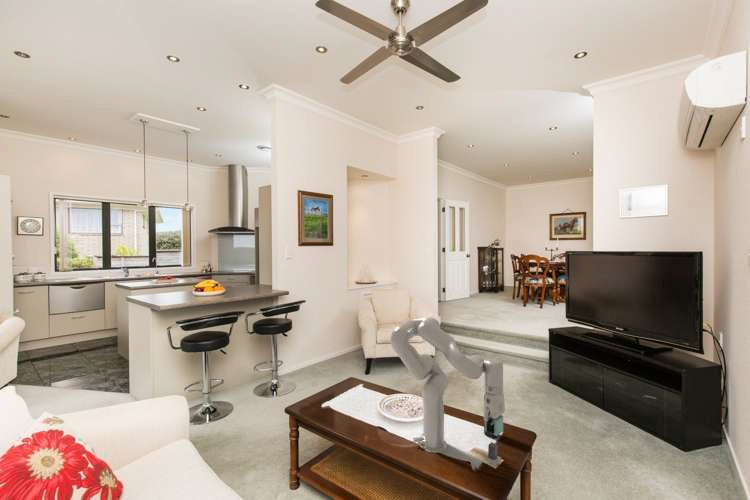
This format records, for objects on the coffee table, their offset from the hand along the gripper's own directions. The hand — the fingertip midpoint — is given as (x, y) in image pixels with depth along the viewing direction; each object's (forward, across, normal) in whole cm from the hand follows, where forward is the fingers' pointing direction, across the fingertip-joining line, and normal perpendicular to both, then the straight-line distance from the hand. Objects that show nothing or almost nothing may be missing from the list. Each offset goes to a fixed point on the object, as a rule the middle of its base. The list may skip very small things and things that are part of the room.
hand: (493, 429), depth 146 cm
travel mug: (+15, +18, +10) cm, 26 cm away
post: (+14, 0, 0) cm, 14 cm away
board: (+15, 0, +4) cm, 15 cm away
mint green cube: (+1, 0, 0) cm, 1 cm away
